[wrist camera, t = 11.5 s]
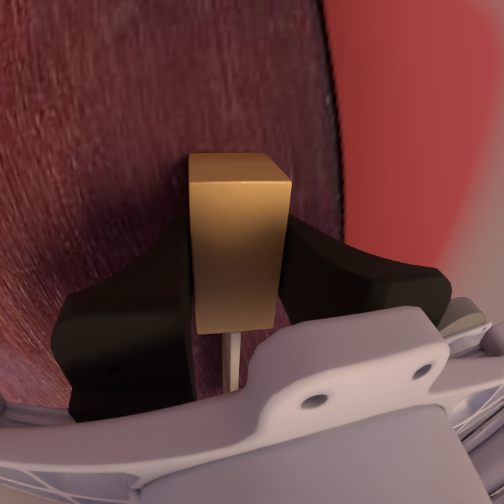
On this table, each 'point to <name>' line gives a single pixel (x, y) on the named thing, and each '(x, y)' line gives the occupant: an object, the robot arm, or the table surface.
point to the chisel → (236, 246)
